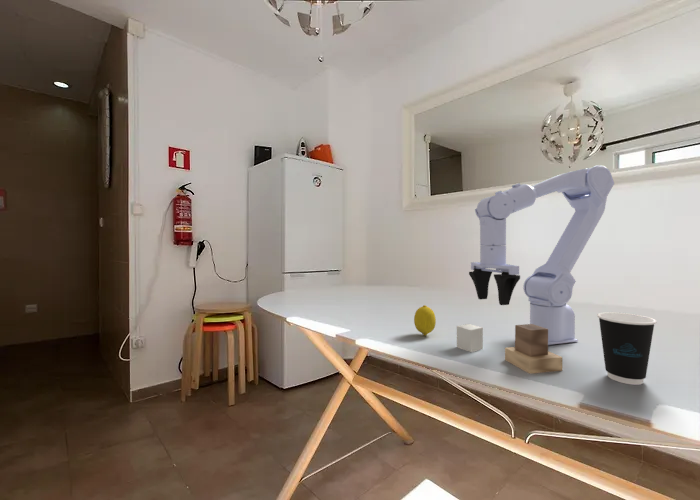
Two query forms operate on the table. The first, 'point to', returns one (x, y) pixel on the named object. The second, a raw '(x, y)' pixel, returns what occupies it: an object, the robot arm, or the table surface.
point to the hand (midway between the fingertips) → (492, 301)
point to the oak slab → (534, 361)
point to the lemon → (424, 320)
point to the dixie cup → (626, 345)
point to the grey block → (469, 337)
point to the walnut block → (531, 339)
